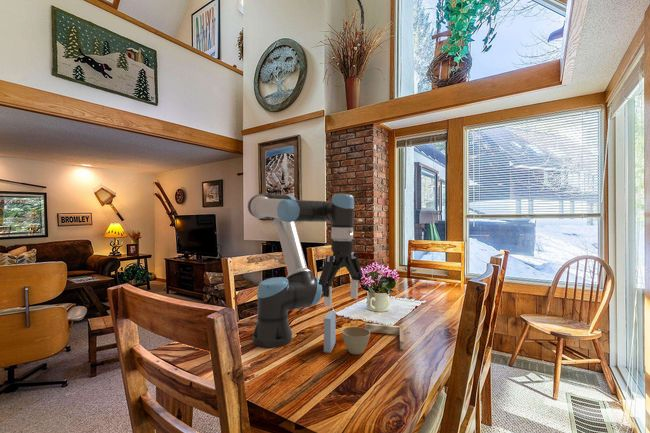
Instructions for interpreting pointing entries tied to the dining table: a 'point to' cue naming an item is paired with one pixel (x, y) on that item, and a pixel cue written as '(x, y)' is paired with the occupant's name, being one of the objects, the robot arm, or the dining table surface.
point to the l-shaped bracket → (387, 331)
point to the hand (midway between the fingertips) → (341, 302)
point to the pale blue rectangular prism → (329, 331)
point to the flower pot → (356, 339)
